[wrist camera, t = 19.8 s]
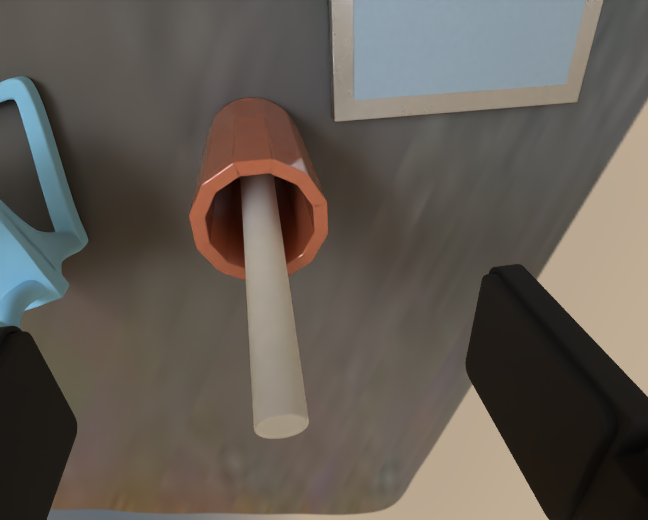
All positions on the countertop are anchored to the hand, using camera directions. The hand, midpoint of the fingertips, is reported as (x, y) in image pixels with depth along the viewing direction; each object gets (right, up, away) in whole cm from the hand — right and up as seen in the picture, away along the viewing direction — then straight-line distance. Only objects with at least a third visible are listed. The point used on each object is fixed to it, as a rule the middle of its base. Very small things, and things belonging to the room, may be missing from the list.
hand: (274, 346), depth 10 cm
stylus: (-2, +8, +12) cm, 15 cm away
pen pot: (-3, +8, +13) cm, 15 cm away
